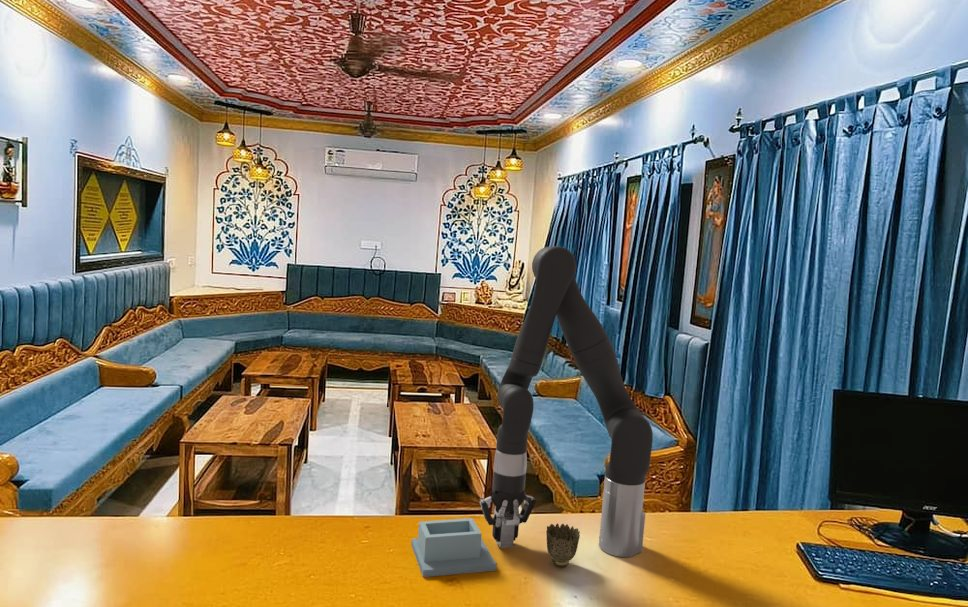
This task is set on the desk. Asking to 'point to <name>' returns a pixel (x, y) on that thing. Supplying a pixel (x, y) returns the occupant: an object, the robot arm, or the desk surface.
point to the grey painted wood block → (508, 529)
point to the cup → (562, 543)
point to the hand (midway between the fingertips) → (504, 539)
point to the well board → (451, 548)
